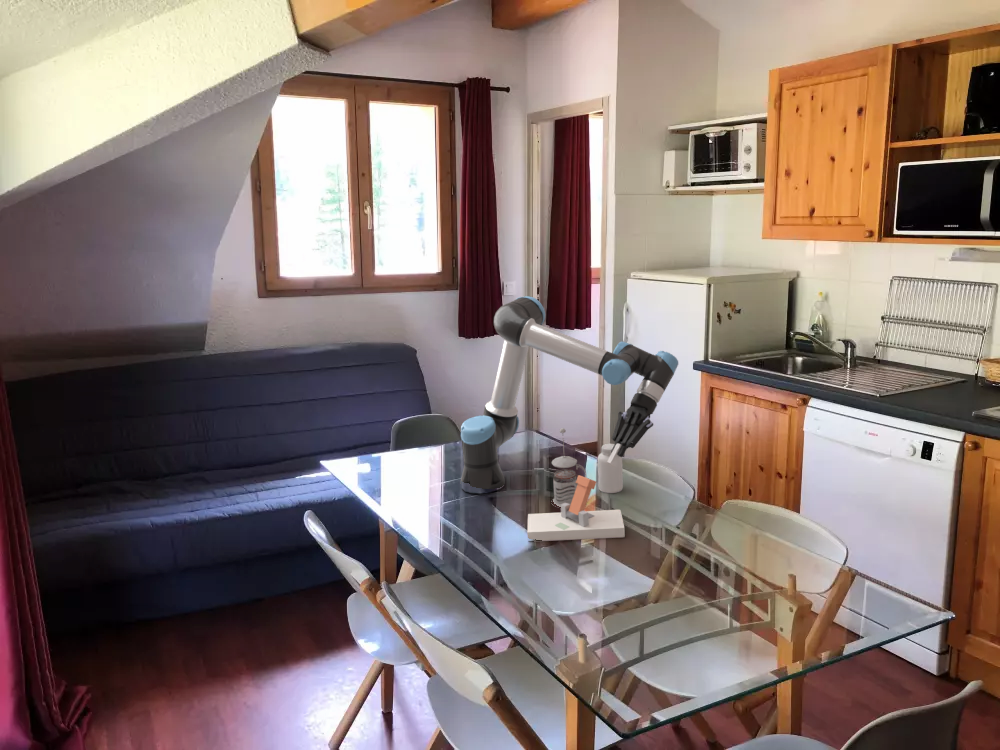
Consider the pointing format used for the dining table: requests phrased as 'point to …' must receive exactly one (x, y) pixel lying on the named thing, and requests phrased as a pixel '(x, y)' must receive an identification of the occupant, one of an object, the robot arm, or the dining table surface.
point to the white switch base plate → (575, 525)
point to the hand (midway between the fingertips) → (611, 464)
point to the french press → (564, 478)
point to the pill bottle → (609, 472)
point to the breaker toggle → (580, 497)
